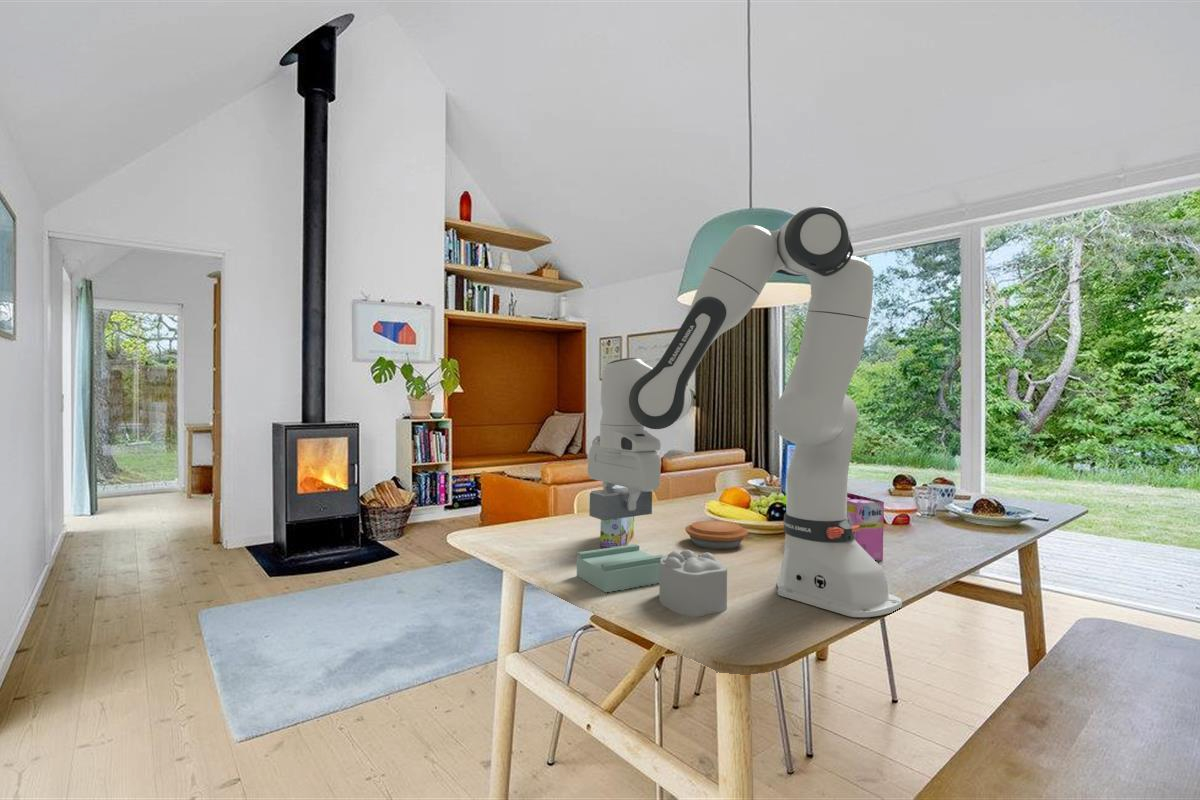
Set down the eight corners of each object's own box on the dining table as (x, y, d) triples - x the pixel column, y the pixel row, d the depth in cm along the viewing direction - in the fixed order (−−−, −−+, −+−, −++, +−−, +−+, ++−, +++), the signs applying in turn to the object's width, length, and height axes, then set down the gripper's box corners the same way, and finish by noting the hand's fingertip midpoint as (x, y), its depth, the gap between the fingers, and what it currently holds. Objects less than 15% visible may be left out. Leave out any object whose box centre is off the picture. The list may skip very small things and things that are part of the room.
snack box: (622, 556, 137) (623, 491, 137) (598, 555, 139) (599, 490, 138) (635, 534, 158) (636, 478, 158) (614, 533, 159) (615, 477, 159)
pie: (674, 538, 155) (674, 519, 155) (727, 534, 159) (728, 516, 159) (702, 554, 140) (702, 533, 140) (759, 549, 145) (760, 529, 145)
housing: (603, 520, 115) (604, 494, 115) (589, 515, 119) (589, 490, 119) (651, 513, 122) (652, 489, 122) (636, 509, 126) (637, 486, 126)
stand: (666, 581, 119) (666, 557, 119) (606, 593, 112) (606, 566, 112) (634, 566, 129) (634, 543, 129) (576, 575, 122) (576, 551, 122)
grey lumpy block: (685, 619, 100) (685, 567, 100) (646, 595, 111) (646, 549, 111) (735, 609, 104) (735, 560, 104) (692, 587, 116) (692, 543, 116)
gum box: (792, 537, 156) (793, 486, 156) (818, 536, 158) (819, 485, 158) (855, 563, 133) (856, 502, 133) (884, 560, 135) (885, 501, 135)
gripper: (580, 435, 127) (579, 500, 127) (640, 443, 110) (639, 518, 110) (605, 434, 130) (604, 497, 131) (666, 442, 114) (665, 514, 114)
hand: (620, 506), depth 120 cm, fingers closed on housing, 5 cm apart
